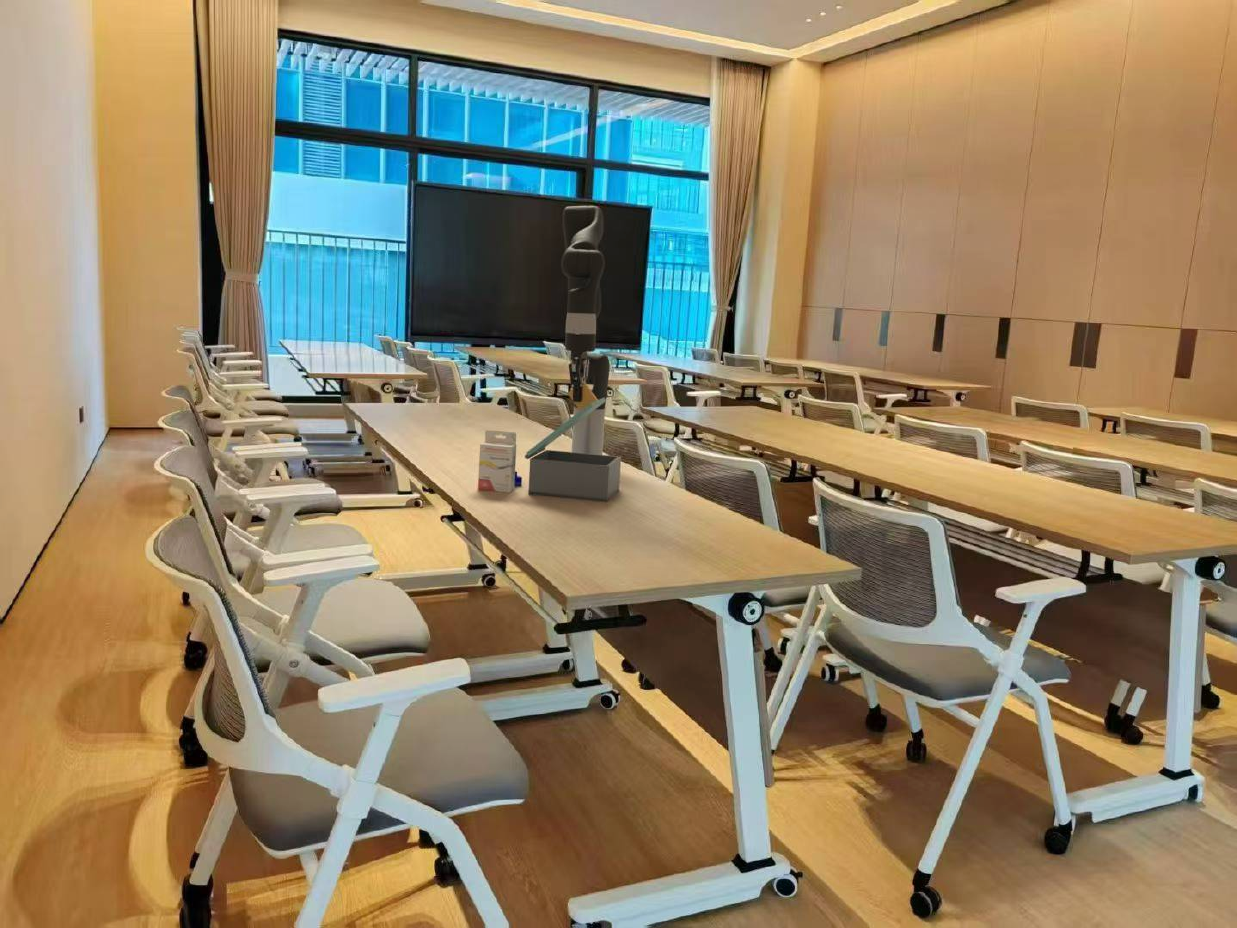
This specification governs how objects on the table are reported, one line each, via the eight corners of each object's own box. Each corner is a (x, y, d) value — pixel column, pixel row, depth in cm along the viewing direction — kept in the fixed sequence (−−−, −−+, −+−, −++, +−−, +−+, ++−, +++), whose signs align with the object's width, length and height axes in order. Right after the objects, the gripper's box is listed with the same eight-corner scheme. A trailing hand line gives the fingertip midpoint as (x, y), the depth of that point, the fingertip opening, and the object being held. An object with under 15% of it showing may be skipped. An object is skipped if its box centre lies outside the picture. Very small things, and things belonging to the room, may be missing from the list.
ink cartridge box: (477, 490, 236) (479, 432, 233) (481, 486, 240) (484, 429, 238) (510, 492, 235) (513, 434, 232) (514, 489, 240) (517, 432, 237)
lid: (543, 450, 249) (526, 428, 249) (607, 402, 243) (590, 378, 243) (525, 460, 233) (507, 436, 232) (594, 408, 227) (575, 383, 227)
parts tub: (545, 483, 250) (546, 449, 248) (618, 490, 246) (621, 456, 245) (528, 494, 234) (530, 458, 233) (606, 502, 231) (609, 466, 229)
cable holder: (521, 486, 244) (522, 471, 244) (509, 487, 242) (510, 472, 241) (505, 480, 250) (506, 466, 250) (494, 481, 248) (494, 466, 248)
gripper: (572, 330, 241) (570, 398, 244) (559, 331, 227) (557, 403, 230) (601, 332, 239) (598, 399, 242) (589, 333, 226) (586, 404, 229)
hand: (578, 401), depth 236 cm, fingers closed on lid
